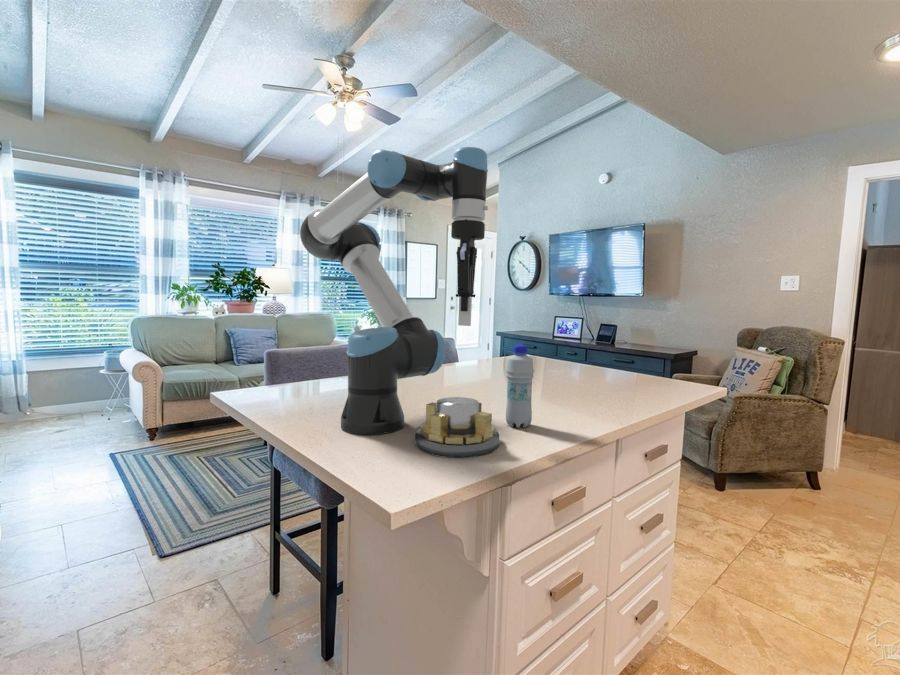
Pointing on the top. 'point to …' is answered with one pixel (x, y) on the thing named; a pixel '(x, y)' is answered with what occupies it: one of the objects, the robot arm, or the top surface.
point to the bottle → (519, 387)
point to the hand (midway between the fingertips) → (464, 325)
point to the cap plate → (457, 447)
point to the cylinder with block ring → (438, 428)
